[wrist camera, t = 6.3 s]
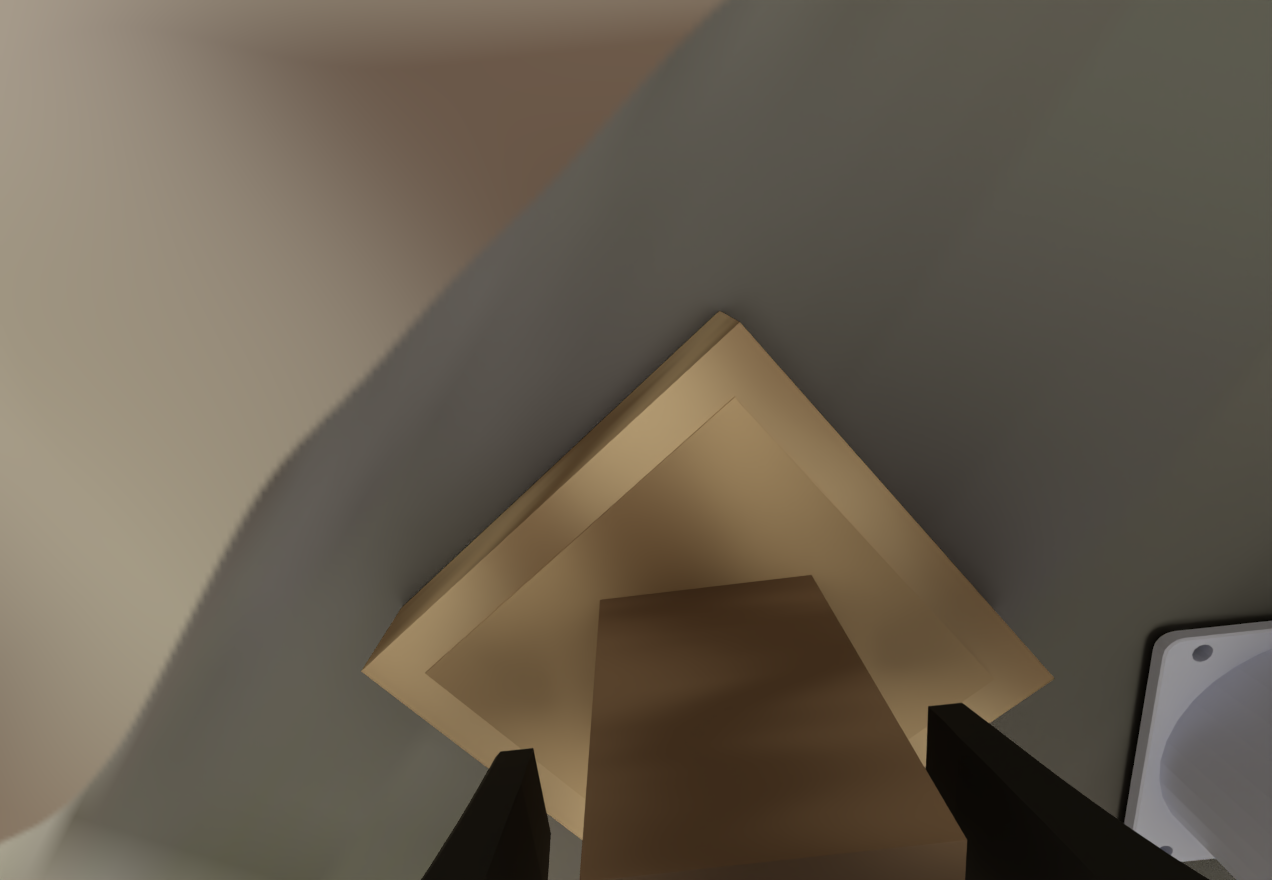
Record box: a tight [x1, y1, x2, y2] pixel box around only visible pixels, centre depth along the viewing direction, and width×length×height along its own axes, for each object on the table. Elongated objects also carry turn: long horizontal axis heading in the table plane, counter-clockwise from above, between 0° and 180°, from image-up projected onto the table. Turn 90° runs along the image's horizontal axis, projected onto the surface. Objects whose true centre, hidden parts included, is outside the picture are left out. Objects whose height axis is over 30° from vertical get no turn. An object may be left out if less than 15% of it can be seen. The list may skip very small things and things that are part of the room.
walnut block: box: [580, 575, 967, 880], centre depth 10 cm, size 4×4×6 cm
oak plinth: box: [361, 311, 1055, 840], centre depth 15 cm, size 11×11×3 cm
